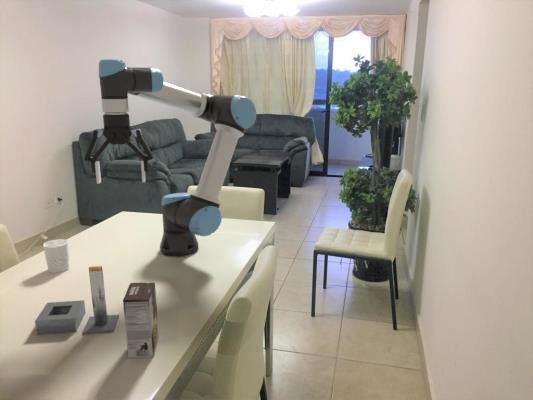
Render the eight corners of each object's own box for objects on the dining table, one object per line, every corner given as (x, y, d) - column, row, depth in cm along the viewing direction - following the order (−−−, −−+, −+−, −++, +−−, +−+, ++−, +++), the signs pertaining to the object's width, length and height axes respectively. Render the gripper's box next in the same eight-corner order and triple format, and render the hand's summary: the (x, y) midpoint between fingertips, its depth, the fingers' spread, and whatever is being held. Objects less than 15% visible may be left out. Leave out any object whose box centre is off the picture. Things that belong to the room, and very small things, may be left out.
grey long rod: (108, 319, 122) (103, 264, 118) (106, 325, 119) (100, 269, 114) (96, 320, 122) (90, 264, 117) (93, 326, 118) (87, 270, 114)
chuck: (85, 312, 127) (84, 300, 126) (76, 331, 117) (74, 318, 116) (49, 315, 125) (47, 302, 124) (36, 334, 116) (34, 321, 115)
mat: (118, 316, 125) (118, 314, 125) (113, 331, 117) (113, 329, 117) (89, 318, 124) (89, 316, 123) (82, 334, 116) (82, 332, 116)
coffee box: (134, 338, 114) (130, 282, 110) (159, 336, 115) (155, 281, 111) (127, 359, 106) (121, 299, 101) (154, 358, 106) (149, 298, 102)
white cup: (61, 274, 151) (58, 248, 149) (41, 272, 153) (37, 246, 150) (75, 265, 159) (72, 240, 156) (56, 263, 160) (53, 238, 158)
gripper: (159, 112, 136) (163, 178, 141) (75, 112, 132) (83, 180, 138) (157, 114, 129) (161, 183, 134) (68, 114, 125) (76, 186, 131)
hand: (121, 182), depth 136 cm, fingers open, 13 cm apart
